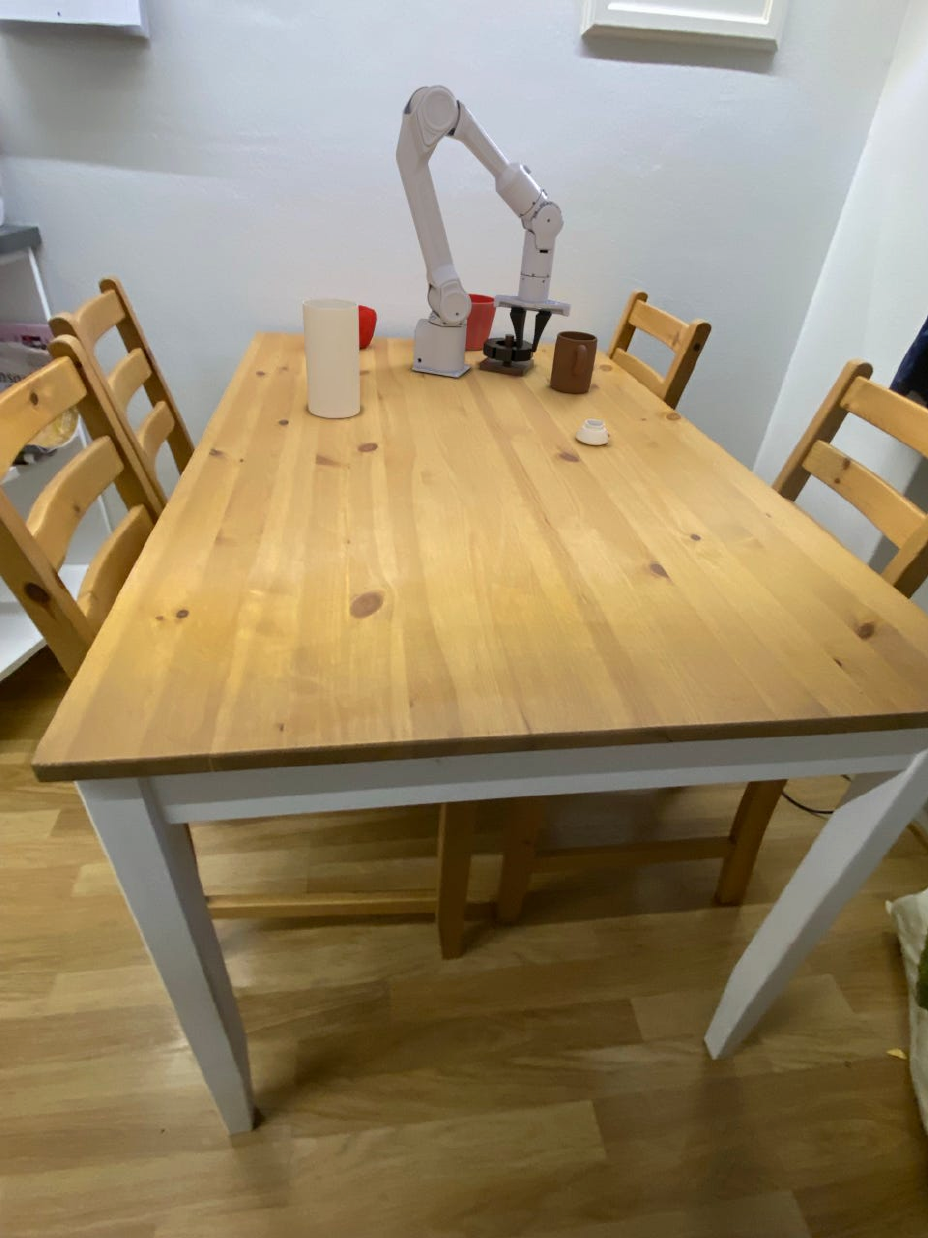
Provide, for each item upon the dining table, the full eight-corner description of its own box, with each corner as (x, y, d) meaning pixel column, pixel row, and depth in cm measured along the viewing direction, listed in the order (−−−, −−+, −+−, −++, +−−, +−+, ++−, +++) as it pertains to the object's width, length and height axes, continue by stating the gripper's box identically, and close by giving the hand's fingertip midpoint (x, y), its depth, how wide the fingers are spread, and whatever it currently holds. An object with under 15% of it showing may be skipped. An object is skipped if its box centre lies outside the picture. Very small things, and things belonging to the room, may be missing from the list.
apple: (326, 348, 142) (324, 307, 138) (344, 339, 149) (343, 299, 145) (366, 354, 141) (366, 313, 136) (383, 345, 148) (383, 305, 143)
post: (478, 369, 138) (481, 336, 134) (491, 358, 145) (494, 327, 141) (522, 376, 136) (526, 343, 132) (533, 365, 143) (537, 333, 139)
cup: (368, 406, 115) (367, 302, 106) (345, 421, 109) (342, 311, 99) (324, 398, 117) (319, 294, 108) (298, 412, 110) (291, 303, 101)
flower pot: (447, 337, 157) (450, 290, 152) (495, 342, 156) (500, 295, 151) (440, 348, 149) (442, 299, 143) (490, 354, 148) (495, 305, 142)
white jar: (583, 447, 107) (613, 446, 108) (587, 428, 105) (616, 427, 106) (570, 435, 111) (599, 434, 112) (573, 417, 109) (602, 416, 110)
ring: (478, 357, 136) (479, 345, 135) (489, 346, 143) (490, 335, 142) (527, 364, 134) (528, 352, 133) (535, 352, 142) (537, 341, 141)
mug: (596, 403, 125) (606, 348, 120) (554, 400, 125) (562, 345, 120) (586, 383, 135) (594, 332, 130) (547, 380, 135) (554, 329, 129)
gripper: (493, 272, 128) (486, 349, 135) (571, 282, 125) (559, 360, 133) (501, 267, 133) (494, 341, 141) (576, 276, 131) (565, 351, 139)
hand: (526, 350), depth 137 cm, fingers closed on ring, 2 cm apart
